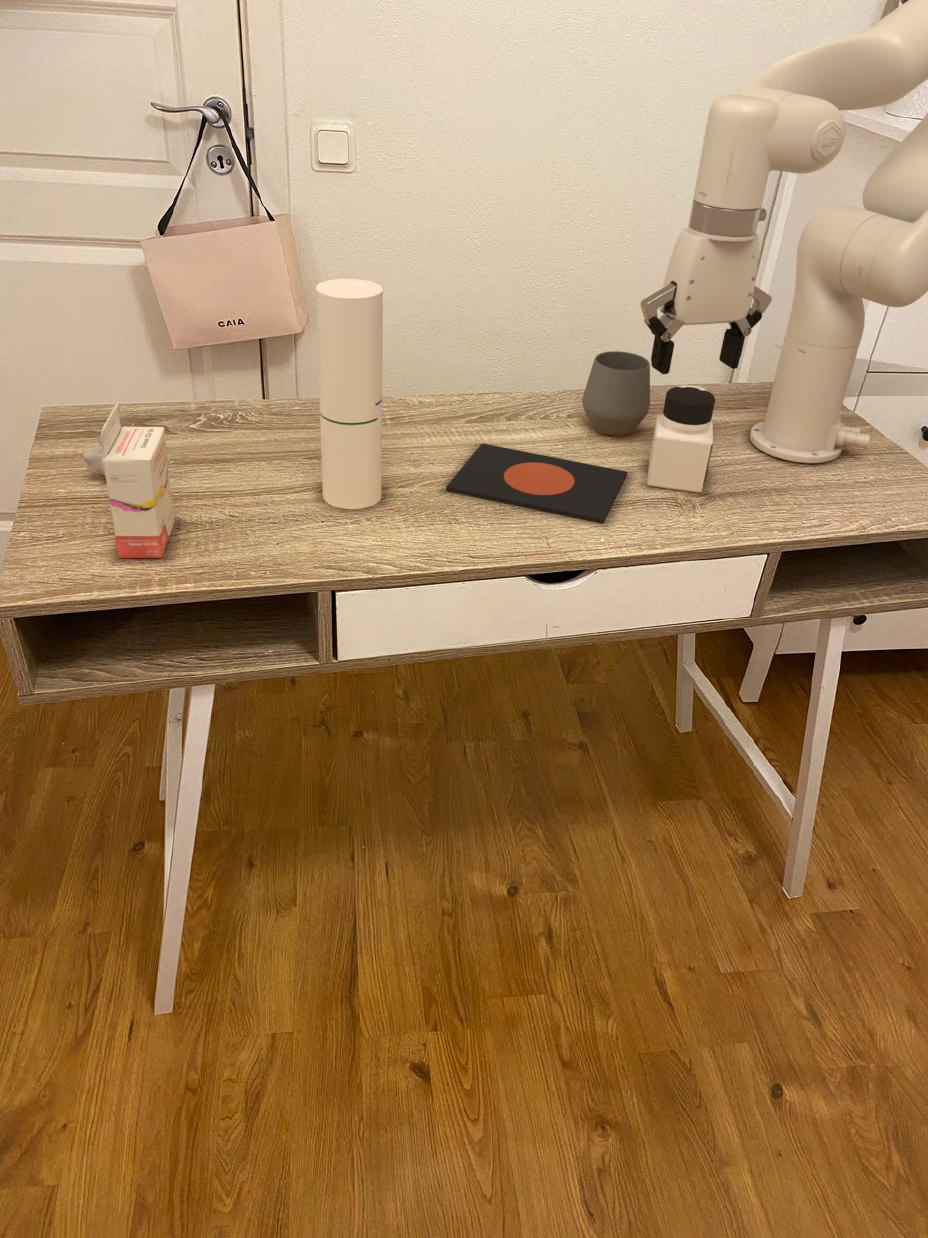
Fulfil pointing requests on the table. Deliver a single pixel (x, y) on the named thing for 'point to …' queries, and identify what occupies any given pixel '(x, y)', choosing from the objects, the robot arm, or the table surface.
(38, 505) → the table surface
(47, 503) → the table surface
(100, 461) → the rubber duck
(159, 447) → the ink cartridge box
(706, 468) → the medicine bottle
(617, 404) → the cup
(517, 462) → the mat
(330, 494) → the cylindrical container
